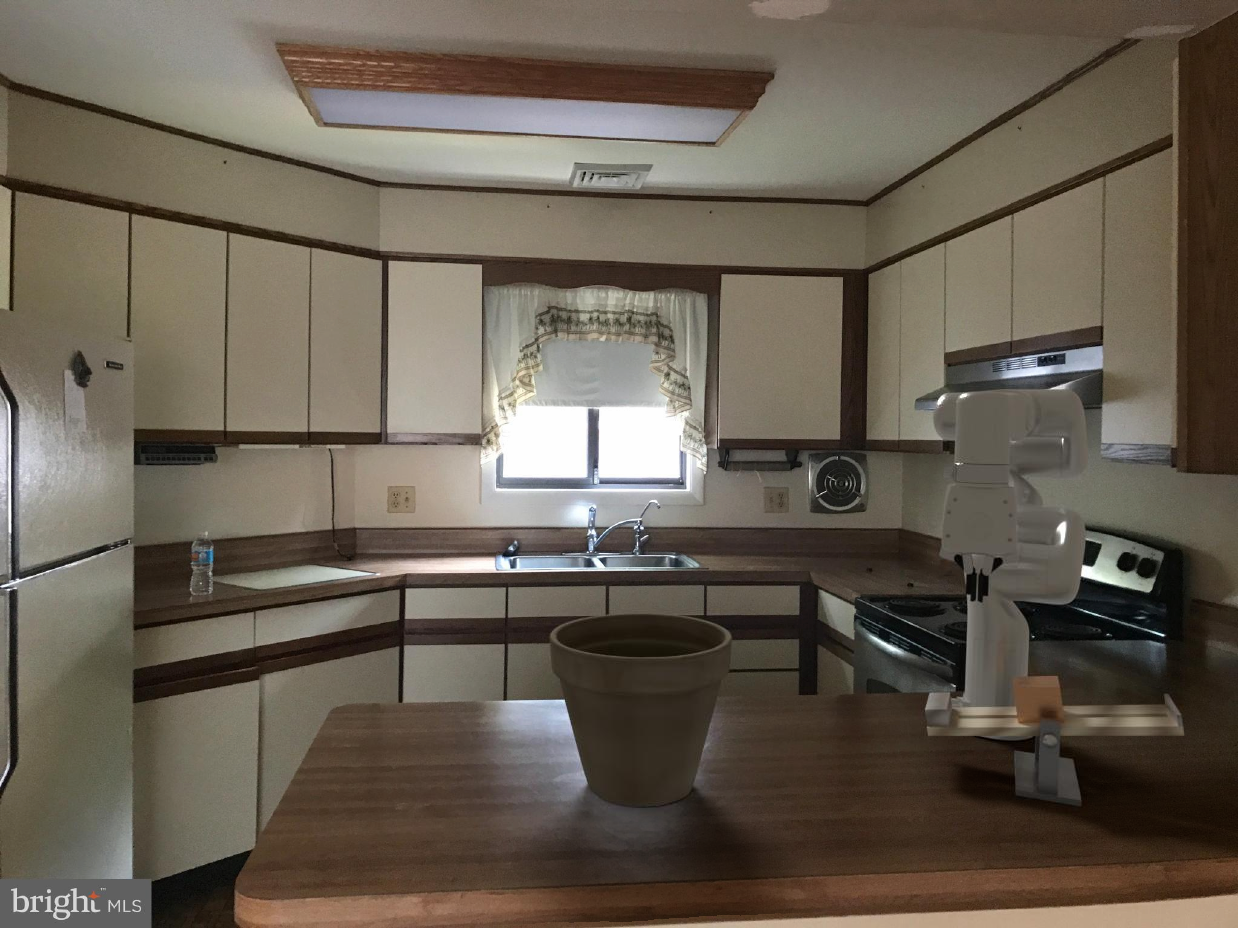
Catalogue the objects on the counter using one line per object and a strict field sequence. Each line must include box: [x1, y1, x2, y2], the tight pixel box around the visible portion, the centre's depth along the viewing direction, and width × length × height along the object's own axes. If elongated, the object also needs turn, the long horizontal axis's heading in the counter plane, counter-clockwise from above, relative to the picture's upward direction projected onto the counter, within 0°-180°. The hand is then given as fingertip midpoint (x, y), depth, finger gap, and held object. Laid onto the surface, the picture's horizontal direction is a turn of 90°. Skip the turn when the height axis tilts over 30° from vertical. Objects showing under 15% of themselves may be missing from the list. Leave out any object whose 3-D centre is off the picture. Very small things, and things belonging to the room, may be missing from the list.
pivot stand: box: [1014, 718, 1083, 807], centre depth 125 cm, size 8×16×10 cm, turn 156°
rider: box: [1013, 675, 1065, 723], centre depth 126 cm, size 6×6×6 cm
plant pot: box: [549, 612, 733, 808], centre depth 121 cm, size 25×25×22 cm
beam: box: [924, 691, 1185, 737], centre depth 125 cm, size 32×10×4 cm, turn 66°
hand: (976, 600), depth 129 cm, fingers closed
